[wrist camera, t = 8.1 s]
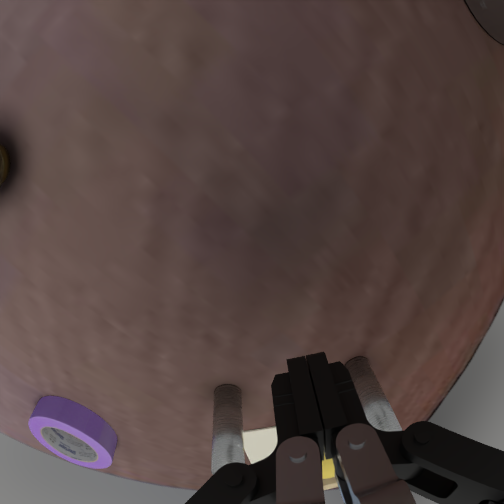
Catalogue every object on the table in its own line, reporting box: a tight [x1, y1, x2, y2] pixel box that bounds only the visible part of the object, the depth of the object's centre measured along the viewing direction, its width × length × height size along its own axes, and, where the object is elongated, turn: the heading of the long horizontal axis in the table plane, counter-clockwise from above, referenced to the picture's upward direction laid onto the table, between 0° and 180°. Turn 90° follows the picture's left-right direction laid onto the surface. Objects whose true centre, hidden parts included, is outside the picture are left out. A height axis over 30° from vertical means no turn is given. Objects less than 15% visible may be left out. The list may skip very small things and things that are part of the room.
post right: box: [345, 357, 402, 431], centre depth 23 cm, size 3×3×9 cm
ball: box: [322, 453, 335, 479], centre depth 30 cm, size 6×6×6 cm
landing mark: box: [243, 426, 277, 464], centre depth 33 cm, size 14×14×1 cm
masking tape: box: [28, 396, 117, 469], centre depth 28 cm, size 12×12×4 cm
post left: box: [211, 384, 245, 475], centre depth 23 cm, size 3×3×9 cm
